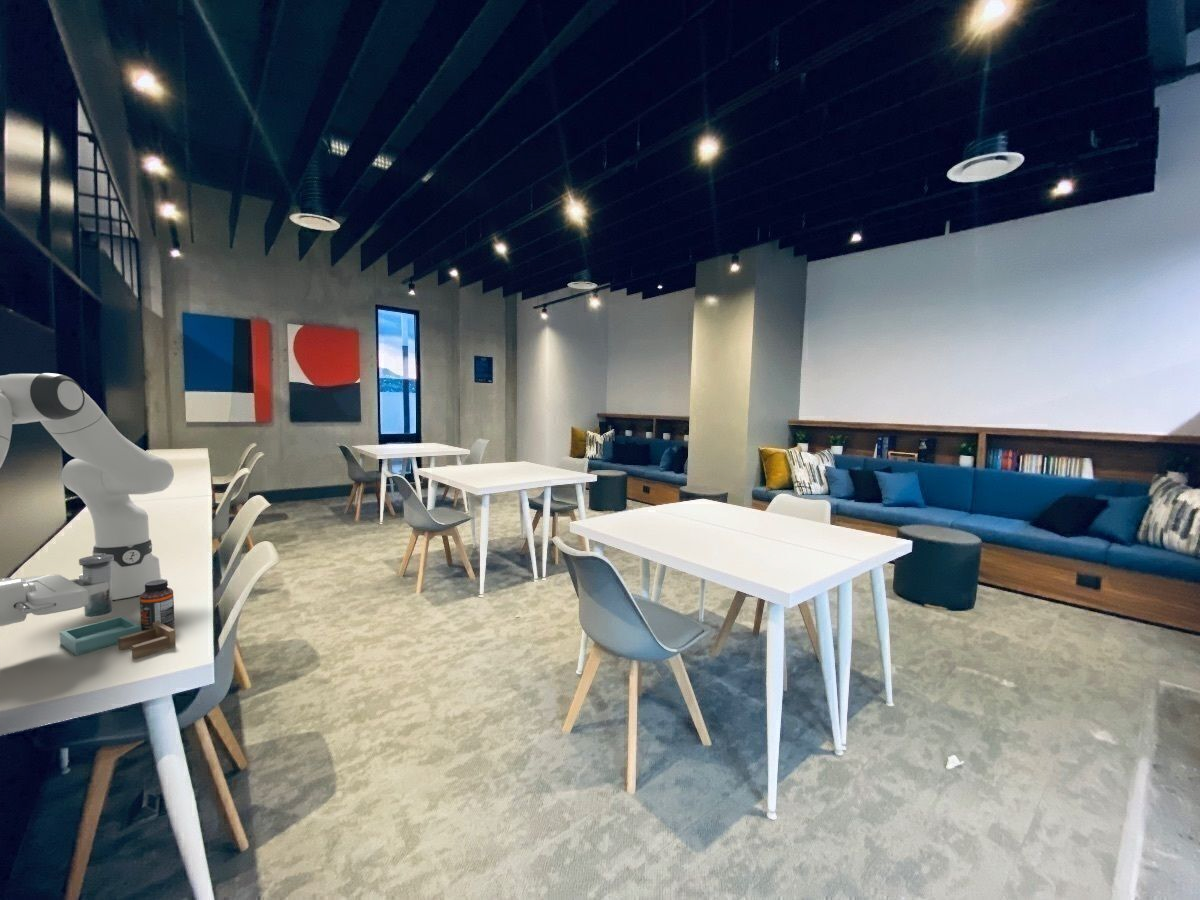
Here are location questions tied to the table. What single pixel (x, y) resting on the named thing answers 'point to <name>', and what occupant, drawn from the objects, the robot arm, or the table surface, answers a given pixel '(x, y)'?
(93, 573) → the pin
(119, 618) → the tray
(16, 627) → the table surface
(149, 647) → the bracket
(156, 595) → the supplement bottle
